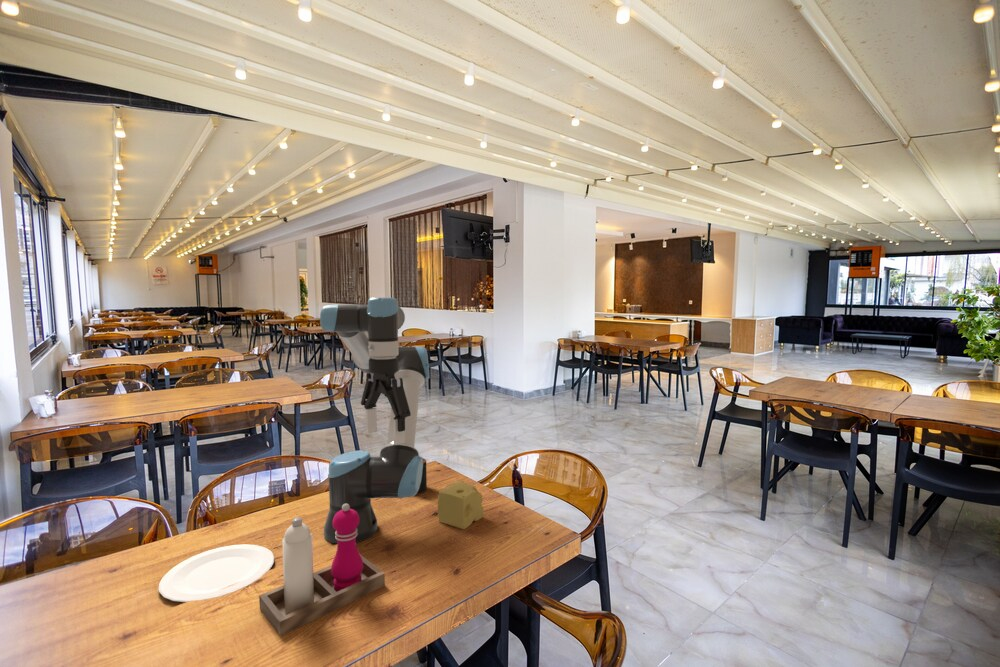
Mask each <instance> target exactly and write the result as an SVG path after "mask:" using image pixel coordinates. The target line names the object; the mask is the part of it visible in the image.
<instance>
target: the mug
mask: <svg viewBox="0 0 1000 667" xmlns="http://www.w3.org/2000/svg"><path fill="white" fill-rule="evenodd" d="M422 459H423V470H422V479H421V483H420V487H419V490H418V492H417V494H423V493H424V492H426V490H427V487H428V486H427V485H428V484H427V483H428V482H427V480H428V479H427V478H428V477H427V459H425V458H423V457H422ZM417 494H416V495H417Z"/></svg>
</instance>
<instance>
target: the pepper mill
mask: <svg viewBox="0 0 1000 667" xmlns="http://www.w3.org/2000/svg"><path fill="white" fill-rule="evenodd" d="M349 508H350V506H349V504H343V506H342V510H340V511H339V512H337V513H336V514H335V516H334V518H333V527H334V529H335V530H336V532H335V535H336V536H335V538H336V540H337V542H338V544H337V548H336V553H335V555H334V558H333V560H332V563H331V565H330V566H331V574H332V576H333V577H334V578H335V579H334V590H335V591H336V592H338V591H340V590H342V589H344V588H346V587H349V586H351V585H353V584H355V583H357V582H360V581H361V574H360V573H361V572H362V570H363V561H362V558H361V556H362V555H361V553H360V551H359V550H358V547H357V542H356V536H357V534H358V533H357V528H356V527H357V526H358V524H359V515H358V513H357V512H356V511H355V510H353V509H349Z"/></svg>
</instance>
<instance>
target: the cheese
mask: <svg viewBox="0 0 1000 667" xmlns="http://www.w3.org/2000/svg"><path fill="white" fill-rule="evenodd" d="M482 503H483V494H482V493H480V492H479V490H478V488H477V487H476V486H475V485H471V484H469V483H467V482H464V481H460V480H456V481H455V482H453V483H452V484H451V485H449V486H447V487H445V488H444V489H442V490H440V491H438V497H437V516H438V522H439V523H442V524H445V525H449V526H453V527H455V528H458V529H461V530H465V529H467V528H468V527H469V526H471V525H472V524H473V522H478V521H479V520H481V519H482V518H484V511H485V510H484V506H483V505H482Z"/></svg>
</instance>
